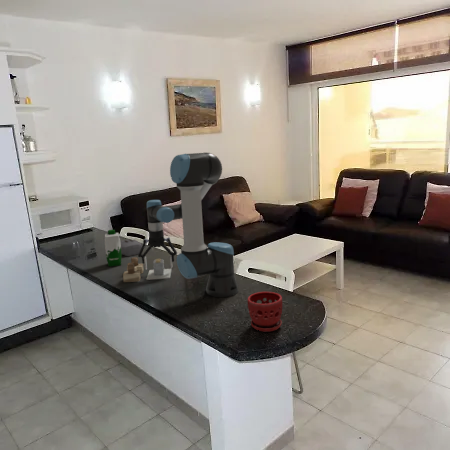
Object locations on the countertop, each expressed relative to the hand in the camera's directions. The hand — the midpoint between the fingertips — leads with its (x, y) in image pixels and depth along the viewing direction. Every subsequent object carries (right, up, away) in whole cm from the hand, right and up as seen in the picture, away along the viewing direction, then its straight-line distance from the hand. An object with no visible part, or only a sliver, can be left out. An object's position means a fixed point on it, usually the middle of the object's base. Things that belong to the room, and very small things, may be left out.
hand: (158, 268), depth 217 cm
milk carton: (-29, 0, +21) cm, 36 cm away
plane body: (-13, -4, 0) cm, 14 cm away
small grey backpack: (-27, +5, +46) cm, 54 cm away
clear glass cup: (0, -3, +1) cm, 3 cm away
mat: (0, -3, +1) cm, 4 cm away
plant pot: (+51, -16, -62) cm, 81 cm away
